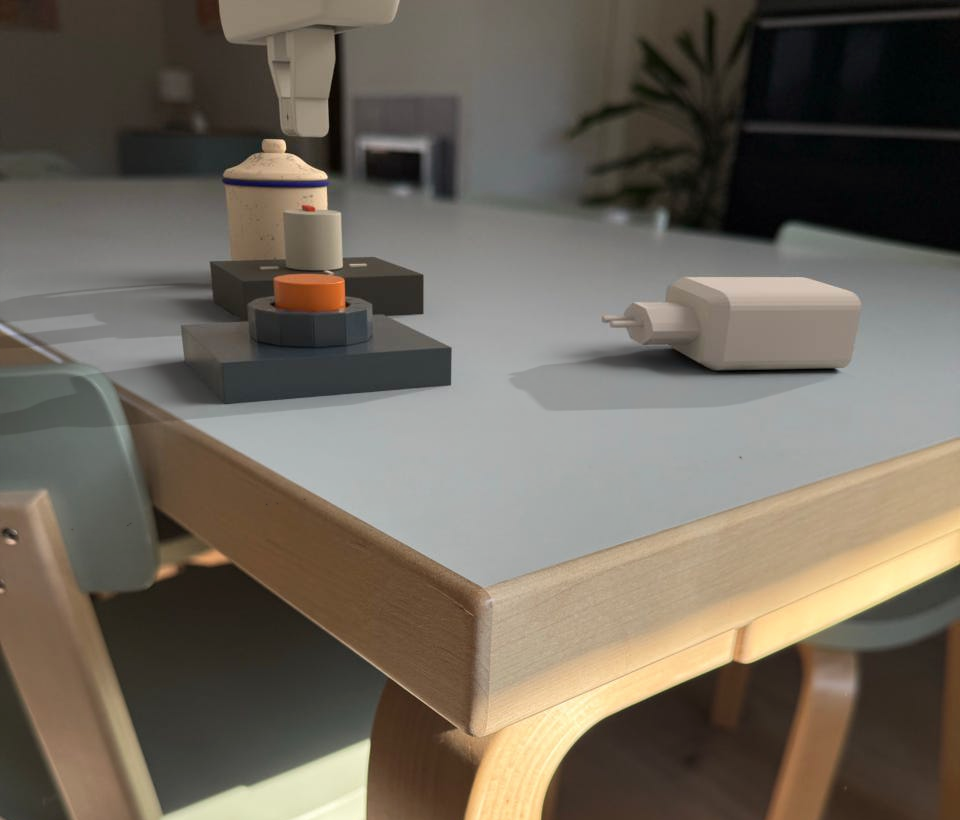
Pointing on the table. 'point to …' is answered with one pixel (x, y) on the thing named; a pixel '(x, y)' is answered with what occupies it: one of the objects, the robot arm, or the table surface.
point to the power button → (309, 292)
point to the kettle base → (363, 275)
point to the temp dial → (313, 239)
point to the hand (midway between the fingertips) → (304, 136)
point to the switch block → (312, 353)
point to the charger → (749, 322)
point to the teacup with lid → (268, 199)
